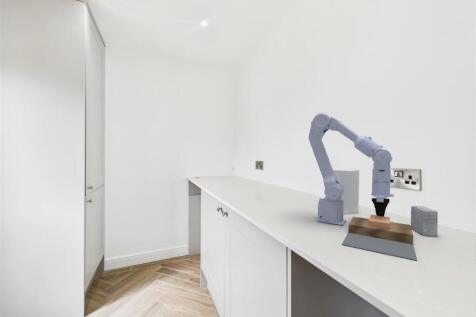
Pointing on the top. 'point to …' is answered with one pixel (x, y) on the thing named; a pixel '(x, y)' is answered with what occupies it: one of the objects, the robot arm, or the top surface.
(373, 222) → the tan rectangular slab
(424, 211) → the medicine box
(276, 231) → the top surface
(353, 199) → the canister
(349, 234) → the mat
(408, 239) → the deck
